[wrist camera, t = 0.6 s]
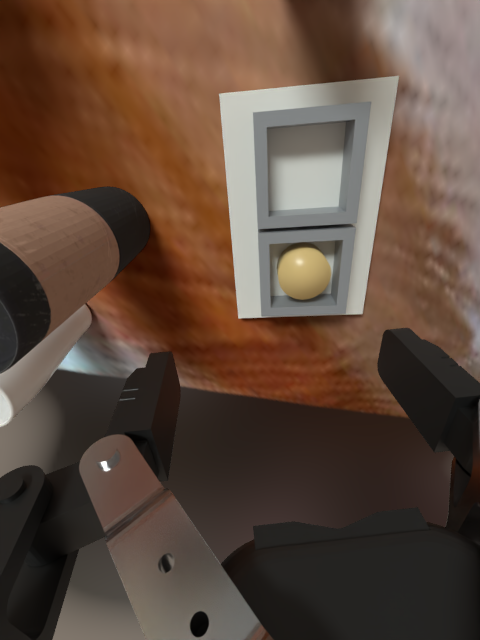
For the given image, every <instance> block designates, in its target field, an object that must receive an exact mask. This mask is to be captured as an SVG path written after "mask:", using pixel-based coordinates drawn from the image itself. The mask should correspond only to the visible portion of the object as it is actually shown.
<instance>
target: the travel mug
mask: <svg viewBox="0 0 480 640" xmlns="http://www.w3.org/2000/svg"><path fill="white" fill-rule="evenodd" d="M149 235H150V223H149V219H148V216H147V213H146V211H145V209H144V208H143V206H142V205H141V203H140V202H139V201H138V200H137V199H136V198H135V197H134V196H133V195H131V194H130V193H128V192H126V191H124V190H122V189H120V188H116V187H99V188H93V189H87V190H81V191H75V192H69V193H63V194H57V195H51V196H46V197H41V198H37V199H33V200H29V201H25V202H21V203H17V204H13V205H9V206H5V207H1V208H0V374H1V373H3V372H5V371H6V370H8V369H10V368H11V367H12V366H14V365H15V364H16V363H17V362H18V361H19V360H21V359H22V358H23V357H24V356H25V355H26V354H27V353H29V352H30V351H31V350H32V349H33V348H34V347H36V346H37V345H38V344H39V343H40V342H41V341H42V340H44V339H45V338H46V337H47V336H48V335H49V334H51V333H52V332H53V331H54V330H55V329H56V328H58V327H59V326H60V325H61V324H62V323H63V322H64V321H66V320H67V319H68V318H69V317H70V316H71V315H73V314H74V313H75V312H76V311H77V310H78V309H80V308H81V307H82V306H83V305H84V304H85V303H86V302H88V301H89V300H90V299H91V298H92V297H93V296H95V295H96V294H97V293H98V292H99V291H100V290H101V289H103V288H104V287H105V286H106V285H107V284H108V283H109V282H111V281H112V280H113V279H114V278H115V277H116V276H117V275H118V274H119V273H120V272H121V271H122V270H123V269H124V268H125V267H126V266H127V265H128V264H129V263H130V262H131V261H132V260H133V259H134V258H135V257H136V256H137V255H138V254H139V252H140V251H141V250H142V249H143V248H144V247H145V245H146V243H147V241H148V239H149Z"/></svg>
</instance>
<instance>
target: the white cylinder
mask: <svg viewBox="0 0 480 640" xmlns="http://www.w3.org/2000/svg"><path fill="white" fill-rule="evenodd" d="M91 322H92V315H91V312H90V310H89V308H88V307H87V305H86V304H84V305H83V306H82V307H81V308H80V309H78V310H77V311H76V312H75V313H74V314H73V315H71V316H70V317H69V318H68V319H67V320H66V321H64V322H63V323H62V324H61V325H60V326H59V327H58V328H56V329H55V330H54V331H53V332H52V333H51V334H49V335H48V336H47V337H46V338H45V339H44V340H42V341H41V342H40V343H39V344H38V345H37V346H36V347H34V348H33V349H32V350H31V351H30V352H29V353H27V354H26V355H25V356H24V357H23V358H22V359H21V360H19V361H18V362H17V363H16V364H15V365H14V366H12V367H11V368H10V369H8V370H6V371H5V372H3V373H1V374H0V427H2V426H5V425H7V424H8V423H10V422H11V421H12V420H13V418H15V417H16V416H17V415H18V414H19V413H20V412H21V411H22V410H23V408H25V407H26V406H27V405H28V403H29V402H30V401H31V400H32V399H33V398H34V397H35V396H36V395H37V394H38V392H39V391H40V390H41V389H42V388H43V386H44V385H45V384H46V382H47V381H48V379H50V377H51V376H52V375H53V373H54V372H55V370H56V369H57V368H58V366H59V365H60V364H61V362H62V361H63V360H64V358H65V357H66V356H67V354H68V353H69V352H70V350H71V349H72V348H73V346H74V345H75V344H76V342H77V341H78V340H79V338H80V337H81V336H82V335H83V334H84V333H85V332H86V330H87V329H88V328H89V327H90V325H91Z"/></svg>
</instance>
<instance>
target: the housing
mask: <svg viewBox="0 0 480 640" xmlns="http://www.w3.org/2000/svg"><path fill="white" fill-rule="evenodd" d="M398 79H399V76H392V77H382V78H372V79H362V80H352V81H342V82H332V83H322V84H312V85H302V86H292V87H282V88H272V89H262V90H252V91H242V92H232V93H222V94H219V97H220V109H221V120H222V132H223V144H224V155H225V167H226V179H227V190H228V202H229V214H230V225H231V237H232V249H233V261H234V272H235V284H236V296H237V307H238V318H263V317H292V316H321V315H350V314H362V313H363V307H364V300H365V294H366V287H367V281H368V274H369V268H370V261H371V255H372V248H373V242H374V235H375V229H376V222H377V216H378V209H379V203H380V196H381V190H382V183H383V177H384V170H385V164H386V157H387V151H388V144H389V138H390V131H391V125H392V118H393V112H394V105H395V99H396V92H397V86H398Z"/></svg>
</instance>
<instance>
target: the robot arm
mask: <svg viewBox="0 0 480 640" xmlns="http://www.w3.org/2000/svg"><path fill="white" fill-rule="evenodd" d="M378 372H379V375H380V377H381V379H382V380H383V382H384V383H385V385H386V386H387V387H388V389H389V390H390V392H391V393H392V394H393V396H394V397H395V399H396V400H397V401H398V403H399V404H400V405H401V407H402V408H403V410H404V411H405V412H406V414H407V415H408V417H409V418H410V419H411V421H412V422H413V423H414V425H415V426H416V428H417V429H418V431H419V432H420V433H421V435H422V436H423V437H424V439H425V440H426V442H427V443H428V444H429V446H430V447H431V448H432V450H433V451H434V452H443V451H451V453H452V454H453V455H454V458H453V460H452V464H451V478H450V493H449V494H450V495H449V510H448V518H447V523H446V526H445V527H443V526H439V525H436V524H433V523H429V522H426V521H425V520H424V518H423V516H422V514H421V513H420V511H419V509H418V508H409V509H401V510H391V511H382V512H377V513H374V514H372V515H370V516H368V517H366V518H363V519H361V520H359V521H357V522H355V523H353V524H350V525H349V526H346V527H344V528H341V529H335V528H328V527H323V526H317V525H311V524H305V523H300V522H285V523H277V524H268V525H259V526H253V530H254V539H253V540H251V541H249V542H247V543H245V544H244V545H242V546H240V547H239V548H237V549H236V550H235V551H234V552H232V553H231V554H230V555H229V556H228V557H227V558H226V559H225V560H224V561H223V562H222V563H221V564H220V563H219V561H218V560H217V558H216V557H215V555H214V554H213V553H212V551H211V550H210V548H209V547H208V545H207V544H206V542H205V541H204V539H203V538H202V536H201V535H200V533H199V532H198V531H197V529H196V528H195V526H194V525H193V523H192V522H191V521H190V519H189V518H188V516H187V514H186V513H185V512H184V510H183V509H182V507H181V506H180V504H179V503H178V501H177V500H176V498H175V497H174V495H173V494H172V493H171V492H170V490H169V489H164V488H163V486H162V485H161V483H160V481H168V476H169V470H170V463H171V457H172V450H173V444H174V437H175V431H176V424H177V417H178V411H179V404H180V383H179V379H178V374H177V370H176V366H175V362H174V358H173V354H172V352H171V351H170V352H160V353H151V354H150V355H149V358H148V361H147V364H146V367H145V368H137V369H136V370H135V371H134V372H133V373H132V374H131V375H130V376H129V377H128V378H127V381H126V384H125V386H124V389H123V392H122V394H121V396H120V401H118V404H117V407H116V409H115V411H114V414H113V416H112V419H111V421H110V424H109V426H108V429H107V432H106V434H105V436H104V438H102V439H100V440H98V441H97V442H95V443H94V444H93V445H92V446H91V447H90V448H88V450H87V451H86V452H85V453H84V455H83V457H82V459H81V461H79V462H77V463H75V464H72V465H70V466H67V467H65V468H62V469H59V470H57V471H54V472H52V473H49V474H47V475H45V473H44V472H43V470H42V469H41V468H40V467H38V466H32V465H31V466H23V467H20V468H17V469H15V470H12V471H11V472H9V473H7V474H5V475H4V476H2V477H1V478H0V640H52V639H53V635H54V632H55V628H56V625H57V621H58V618H59V615H60V612H61V608H62V605H63V601H64V598H65V594H66V591H67V588H68V585H69V581H70V578H71V575H72V571H73V568H74V565H75V561H76V558H77V554H78V551H79V549H80V548H82V547H84V546H86V545H88V544H90V543H93V542H95V541H97V540H99V539H101V538H103V537H105V540H106V543H107V546H108V549H109V551H110V553H111V556H112V558H113V561H114V563H115V566H116V568H117V570H118V573H119V575H120V578H121V580H122V583H123V585H124V587H125V590H126V592H127V595H128V597H129V599H130V602H131V605H132V607H133V609H134V612H135V614H136V617H137V619H138V622H139V624H140V626H141V629H142V631H143V634H144V636H145V639H146V640H480V383H479V382H478V381H477V380H476V379H474V378H473V377H472V376H471V375H470V374H469V373H468V372H467V371H465V370H464V369H463V368H462V367H461V366H458V363H456V362H455V361H454V360H453V359H452V358H449V356H448V355H447V354H446V353H445V352H444V351H443V350H442V349H441V348H439V347H438V346H436V345H434V344H432V343H430V342H428V341H426V340H422V339H420V338H419V337H418V336H417V335H416V334H415V333H414V332H413V331H412V330H411V329H409V328H400V329H390V330H386V331H385V332H384V334H383V338H382V343H381V348H380V353H379V358H378Z"/></svg>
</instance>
